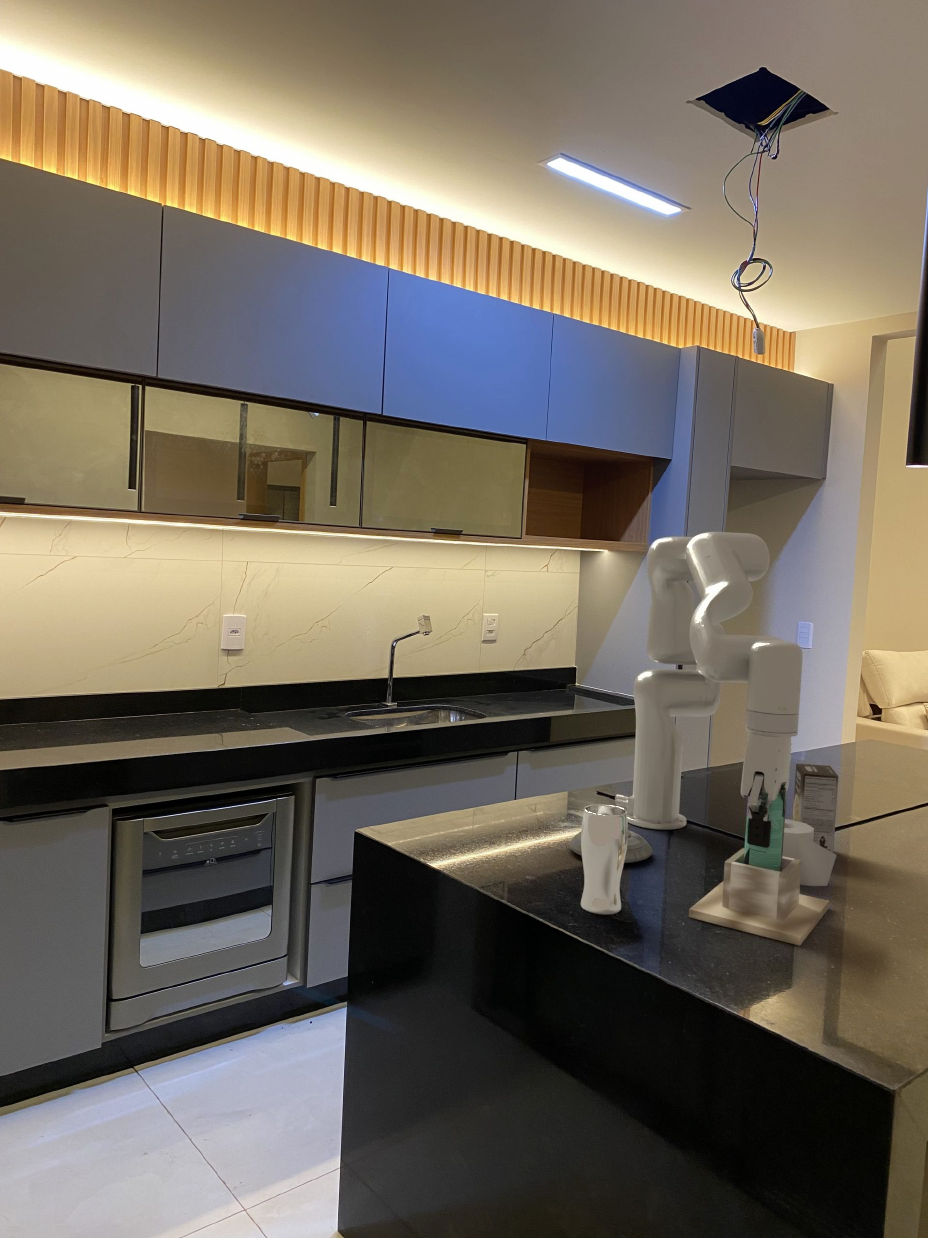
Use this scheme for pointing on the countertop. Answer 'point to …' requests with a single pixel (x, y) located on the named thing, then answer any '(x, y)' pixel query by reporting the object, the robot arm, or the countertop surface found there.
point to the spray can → (773, 853)
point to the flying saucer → (635, 847)
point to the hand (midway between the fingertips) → (764, 839)
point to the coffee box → (816, 801)
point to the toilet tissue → (807, 853)
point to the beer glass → (603, 856)
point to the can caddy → (762, 901)
